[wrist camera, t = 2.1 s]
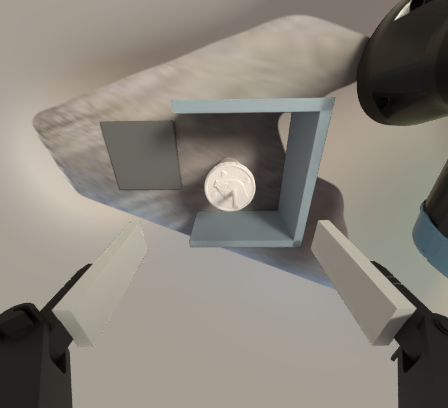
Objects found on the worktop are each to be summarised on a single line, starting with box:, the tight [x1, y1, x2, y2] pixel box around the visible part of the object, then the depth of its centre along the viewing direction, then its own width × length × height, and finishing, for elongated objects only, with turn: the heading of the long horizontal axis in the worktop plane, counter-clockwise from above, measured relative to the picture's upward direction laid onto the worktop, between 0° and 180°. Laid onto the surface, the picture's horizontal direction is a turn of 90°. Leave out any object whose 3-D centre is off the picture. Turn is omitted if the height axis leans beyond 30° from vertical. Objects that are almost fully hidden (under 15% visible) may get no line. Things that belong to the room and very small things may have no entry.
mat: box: [100, 121, 182, 189], centre depth 29 cm, size 11×11×1 cm
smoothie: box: [205, 157, 255, 211], centre depth 24 cm, size 6×6×14 cm
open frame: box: [171, 98, 335, 247], centre depth 26 cm, size 17×19×9 cm
